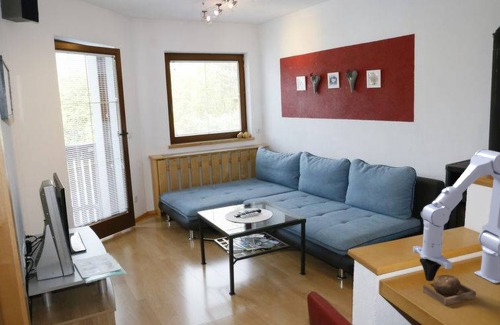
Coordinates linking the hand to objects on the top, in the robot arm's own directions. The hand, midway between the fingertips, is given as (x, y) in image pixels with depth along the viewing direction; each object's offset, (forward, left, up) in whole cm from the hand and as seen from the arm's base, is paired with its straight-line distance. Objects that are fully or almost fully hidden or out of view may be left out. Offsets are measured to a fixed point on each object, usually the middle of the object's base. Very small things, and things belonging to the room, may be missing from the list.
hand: (429, 280), depth 131 cm
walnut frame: (0, +8, -1) cm, 8 cm away
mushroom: (0, +7, -1) cm, 7 cm away
